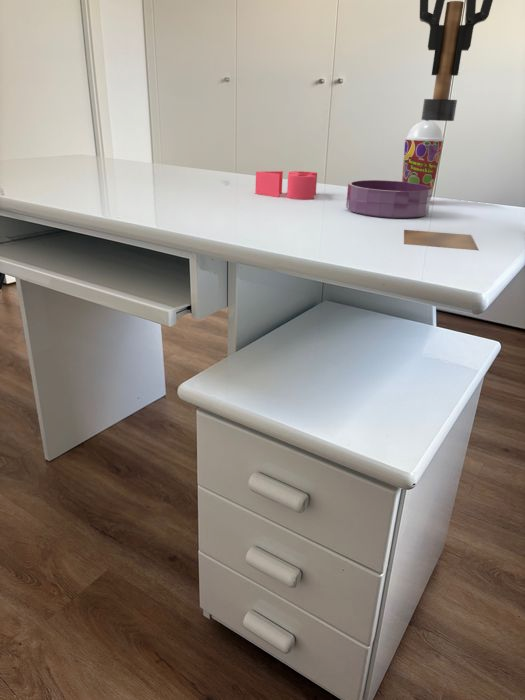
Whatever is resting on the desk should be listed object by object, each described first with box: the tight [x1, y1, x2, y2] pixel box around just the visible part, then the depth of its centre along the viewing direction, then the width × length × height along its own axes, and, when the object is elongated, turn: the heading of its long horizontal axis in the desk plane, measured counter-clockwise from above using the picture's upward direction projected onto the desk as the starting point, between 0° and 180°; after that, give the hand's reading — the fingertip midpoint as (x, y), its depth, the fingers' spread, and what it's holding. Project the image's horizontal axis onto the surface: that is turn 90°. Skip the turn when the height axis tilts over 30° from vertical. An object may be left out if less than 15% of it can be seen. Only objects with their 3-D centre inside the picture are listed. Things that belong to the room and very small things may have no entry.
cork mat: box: [403, 229, 480, 251], centre depth 86 cm, size 11×11×1 cm
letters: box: [254, 170, 318, 200], centre depth 126 cm, size 14×10×5 cm
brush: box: [420, 0, 465, 122], centre depth 82 cm, size 5×5×16 cm
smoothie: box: [401, 120, 445, 197], centre depth 119 cm, size 8×8×20 cm
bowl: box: [345, 179, 433, 219], centre depth 107 cm, size 16×16×6 cm
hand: (444, 74), depth 83 cm, fingers closed on brush, 2 cm apart
